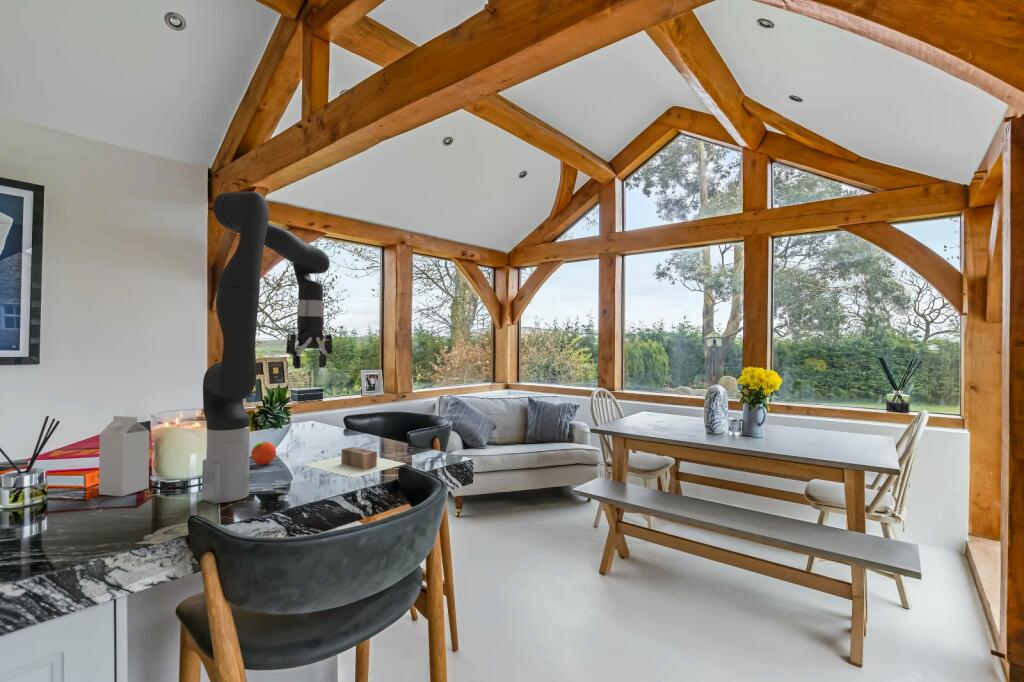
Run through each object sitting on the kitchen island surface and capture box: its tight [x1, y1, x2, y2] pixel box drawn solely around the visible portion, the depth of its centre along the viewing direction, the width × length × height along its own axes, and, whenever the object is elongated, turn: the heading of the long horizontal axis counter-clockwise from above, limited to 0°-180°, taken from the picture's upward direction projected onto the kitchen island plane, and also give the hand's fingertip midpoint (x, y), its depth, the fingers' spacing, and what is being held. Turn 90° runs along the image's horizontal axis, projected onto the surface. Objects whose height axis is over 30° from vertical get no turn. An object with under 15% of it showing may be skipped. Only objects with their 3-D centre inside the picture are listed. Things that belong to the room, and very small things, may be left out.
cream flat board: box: [303, 455, 407, 479], centre depth 153 cm, size 20×24×1 cm
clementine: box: [250, 441, 277, 466], centre depth 153 cm, size 8×7×7 cm
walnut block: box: [341, 446, 378, 469], centre depth 152 cm, size 4×4×11 cm
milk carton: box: [98, 415, 150, 497], centre depth 125 cm, size 7×7×19 cm
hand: (309, 367), depth 153 cm, fingers open, 8 cm apart
